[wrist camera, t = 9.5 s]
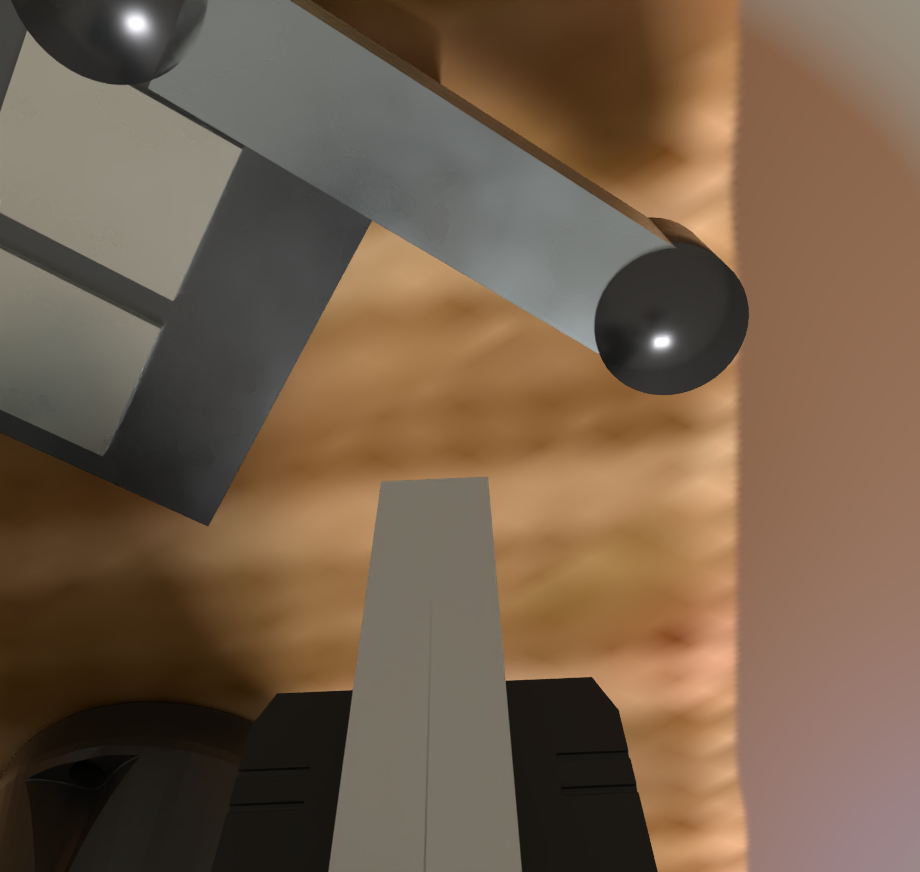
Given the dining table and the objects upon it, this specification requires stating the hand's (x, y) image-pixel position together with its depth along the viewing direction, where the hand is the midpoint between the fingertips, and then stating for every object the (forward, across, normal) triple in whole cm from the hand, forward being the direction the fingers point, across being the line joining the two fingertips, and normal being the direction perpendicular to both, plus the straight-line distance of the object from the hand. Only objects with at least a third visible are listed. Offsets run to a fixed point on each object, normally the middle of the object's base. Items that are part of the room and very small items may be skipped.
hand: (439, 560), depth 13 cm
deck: (+16, -10, +2) cm, 19 cm away
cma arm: (+12, 0, +4) cm, 13 cm away
